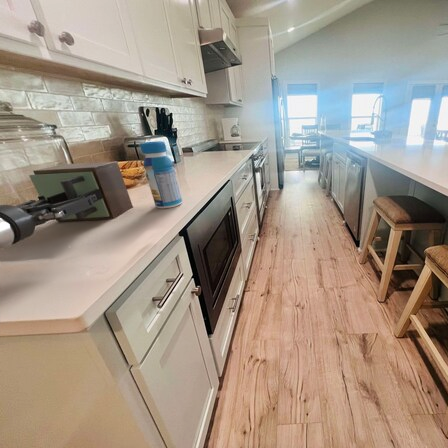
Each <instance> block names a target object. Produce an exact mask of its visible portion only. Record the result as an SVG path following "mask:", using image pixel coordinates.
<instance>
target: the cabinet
mask: <svg viewBox="0 0 448 448" xmlns="http://www.w3.org/2000/svg"><path fill="white" fill-rule="evenodd" d="M32 172H33V175H39V174H57V173H75V172H93V175H94V177H95V180H96V183H97V185H98V188H99V189H100V191H101V194H102V197H103V200H104V203H105V205H106V208H107V210H108V213H109V215H110V216H109V217H95V218H81V219H63V220H61V221H57V222H58V223H65V222H77V221H78V222H79V221H94V220H110V219H111V220H112V219H115V218H118V217H119V216H120V215H122V214H124V213H125V212H128V211H130V209H132V208H134V205H133V203H132V199H131V198H130V197H131V196H130V194H129V192H128V191H129V190H128V189H127V185H126V182H125V180H124V177H123V174H122V171H121V168H120V165H119V163H118V161H99V162H81V163H64V164H60V165H53V166H49V167H44V168H39V169H34V170H32Z"/></svg>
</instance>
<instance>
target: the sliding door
mask: <svg viewBox="0 0 448 448" xmlns="http://www.w3.org/2000/svg"><path fill="white" fill-rule="evenodd" d="M28 176H29V179H30V181H31V182H32V184H33V186H34V188H35V190H36V192H37V194H38V196H44V197H45V199H47V197H50V196H53V195H56V194H59V193H62V192H65V194H66V196H67V198H68V200H71V199H74V198H78V196H79V195H82V194H85V193H87V192H90V191H93V190H95V189H99V188H98V185H97V183H96V180H95V177H94V175H93V172H75V173H57V174H39V175H35V174H29V175H28ZM93 205H94V206H93V207H91V208H90V209H86V210H83V211H81V212H78V213H76V214H73V215H71V216H68V217H66V218H65V219H81V218H95V217H109V216H110V215H109V213H108V210H107V208H106V205H105V203H104V200H103V199H100V200H98V201H96V202H93ZM47 210H48V209H47ZM48 212H49V211H48ZM52 221H56V219H53V220H52Z"/></svg>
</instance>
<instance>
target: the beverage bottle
mask: <svg viewBox="0 0 448 448" xmlns="http://www.w3.org/2000/svg"><path fill="white" fill-rule="evenodd" d="M139 147H140V151H141V154H142V155H143V156H145V157H144V159H143V165H142V167H143V169H144V170H145V174H144V175H145V178H146V179H147V183H148V187H149V189H150V193H151V195H152V199H153V202H154V206H155V207H156V208H157V209H170V208H175V207H178V206H180V205H181V204H182V203H183V198H182V196H181V190H180V187H179V183H178V179H177V172H176V170H175V169H174V167H173V166H174V162H173V160H172V159H171V158H170V157H169V156H168V155H167V154H166V153H168V151H167V150H168V149H167V145H166V143H165V141H161V140H160V141H159V140H158V141H157V140H156V141H147V142H140V143H139Z"/></svg>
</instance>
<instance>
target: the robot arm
mask: <svg viewBox="0 0 448 448" xmlns="http://www.w3.org/2000/svg"><path fill="white" fill-rule="evenodd" d="M100 199H103V197H102V194H101V191H100V189H95V190H93V191H90V192H87V193H85V194H82V195H79V196H78V198H74V199H71V200H68V198H67V196H66V194H65V192H62V193H59V194H56V195H53V196H50V197H47V199H45V197H44V196H39V195H38V196H37V200H36V199H30V200H28V201H25V202H21V203H19V204H17V205H11V204H0V251H2V250H3V249H6V248H9V247H10V246H12V245H15V244H17V243H19V242H21V241H24V240H26V239H29V238H30V237H31V236H32V235H34V233H35V230H36V227H37V226H40V225H41V226H42V225H44V224H46V223H47V222H49V221H50V222H51V221H54V220H53V219H56V220H55V221H56V222H58V221H61V220H63V219H65V218H66V217H68V216H71V215H73V214H76V213H78V212H81V211H83V210H86V209H90V208H91V207H93V206H94V205H93V202H96V201H98V200H100ZM47 209H48V210H47ZM48 211H49V212H48Z"/></svg>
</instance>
